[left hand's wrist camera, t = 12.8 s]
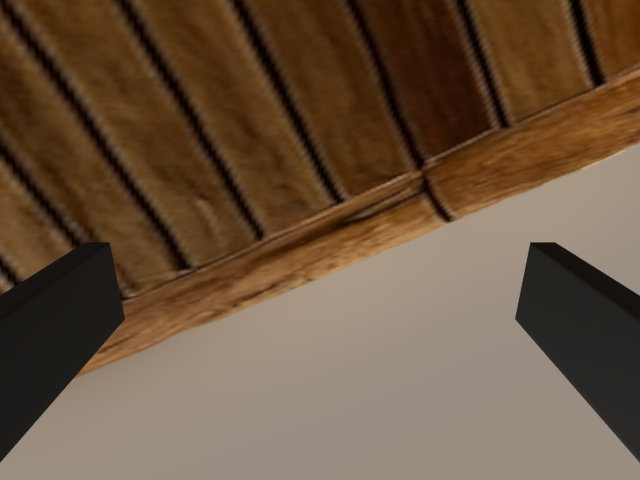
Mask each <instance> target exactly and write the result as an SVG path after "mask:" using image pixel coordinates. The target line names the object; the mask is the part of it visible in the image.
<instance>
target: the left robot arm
mask: <svg viewBox="0 0 640 480" xmlns="http://www.w3.org/2000/svg"><path fill="white" fill-rule="evenodd" d="M124 320H125V317H124V312H123V307H122V302H121V297H120V292H119V287H118V282H117V277H116V272H115V267H114V262H113V257H112V252H111V247H110V242H85V243H83V244H82V245H80V246H79V247H77V248H75V249H74V250H72V251H71V252H69V253H67V254H66V255H64V256H63V257H61V258H59V259H58V260H56V261H55V262H53V263H52V264H50V265H48V266H47V267H45V268H44V269H42V270H40V271H39V272H37V273H36V274H34V275H32V276H31V277H29V278H28V279H26V280H24V281H23V282H21V283H20V284H18V285H17V286H15V287H13V288H12V289H10V290H9V291H7V292H5V293H4V294H2V295H1V296H0V462H1V461H2V460H3V459H4V458H5V456H6V455H7V454H8V453H9V452H10V451H11V450H12V448H13V447H14V446H15V445H16V444H17V443H18V441H19V440H20V439H21V438H22V437H23V436H24V435H25V433H26V432H27V431H28V430H29V429H30V428H31V427H32V425H33V424H34V423H35V422H36V421H37V420H38V418H39V417H40V416H41V415H42V414H43V413H44V412H45V410H46V409H47V408H48V407H49V406H50V405H51V403H52V402H53V401H54V400H55V399H56V398H57V397H58V395H59V394H60V393H61V392H62V391H63V390H64V389H65V387H66V386H67V385H68V384H69V383H70V382H71V381H72V379H73V378H74V377H75V376H76V375H77V374H78V372H79V371H80V370H81V369H82V368H83V367H84V366H85V364H86V363H87V362H88V361H89V360H90V359H91V358H92V356H93V355H94V354H95V353H96V352H97V351H98V349H99V348H100V347H101V346H102V345H103V344H104V343H105V341H106V340H107V339H108V338H109V337H110V336H111V335H112V333H113V332H114V331H115V330H116V329H117V328H118V326H119V325H120V324H121V323H122V322H123V321H124ZM515 320H516V321H517V322H518V323H519V324H520V325H521V326H522V328H523V329H524V330H525V331H526V332H527V333H528V335H529V336H530V337H531V338H532V339H533V340H534V341H535V343H536V344H537V345H538V346H539V347H540V348H541V349H542V351H543V352H544V353H545V354H546V355H547V356H548V358H549V359H550V360H551V361H552V362H553V363H554V364H555V366H556V367H557V368H558V369H559V370H560V371H561V372H562V374H563V375H564V376H565V377H566V378H567V379H568V381H569V382H570V383H571V384H572V385H573V386H574V387H575V389H576V390H577V391H578V392H579V393H580V394H581V395H582V397H583V398H584V399H585V400H586V401H587V402H588V404H589V405H590V406H591V407H592V408H593V409H594V410H595V412H596V413H597V414H598V415H599V416H600V417H601V418H602V420H603V421H604V422H605V423H606V424H607V425H608V427H609V428H610V429H611V430H612V431H613V432H614V433H615V435H616V436H617V437H618V438H619V439H620V440H621V441H622V443H623V444H624V445H625V446H626V447H627V448H628V450H629V451H630V452H631V453H632V454H633V455H634V456H635V458H636V459H637V460H638V461H639V462H640V296H639V295H638V294H636V293H635V292H633V291H631V290H630V289H628V288H627V287H625V286H623V285H622V284H620V283H619V282H617V281H615V280H614V279H612V278H611V277H609V276H608V275H606V274H604V273H603V272H601V271H600V270H598V269H596V268H595V267H593V266H592V265H590V264H588V263H587V262H585V261H584V260H582V259H581V258H579V257H577V256H576V255H574V254H573V253H571V252H569V251H568V250H566V249H565V248H563V247H561V246H560V245H558V244H557V243H555V242H549V243H548V242H544V243H543V242H542V243H541V242H538V243H537V242H536V243H535V242H531V243H530V247H529V252H528V258H527V262H526V267H525V273H524V278H523V282H522V287H521V292H520V297H519V303H518V308H517V312H516V318H515Z"/></svg>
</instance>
